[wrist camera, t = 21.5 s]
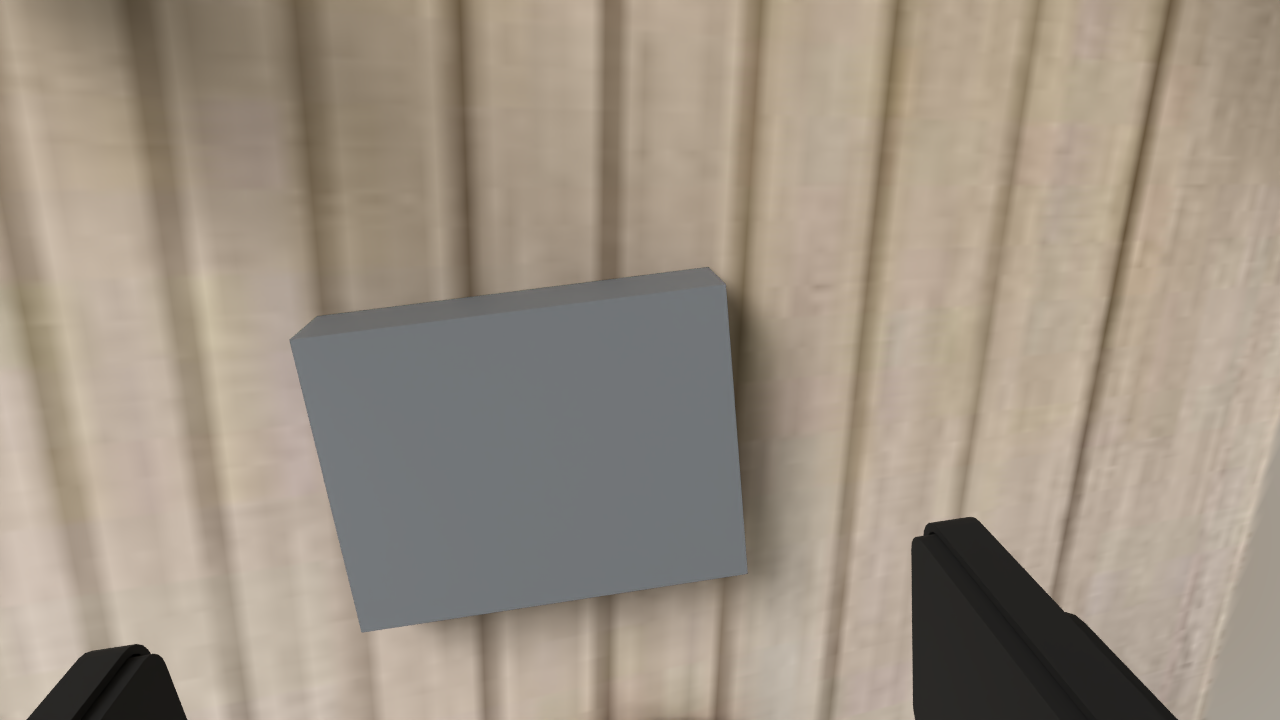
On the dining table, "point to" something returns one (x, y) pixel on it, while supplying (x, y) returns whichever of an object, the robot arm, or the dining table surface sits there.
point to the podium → (528, 445)
